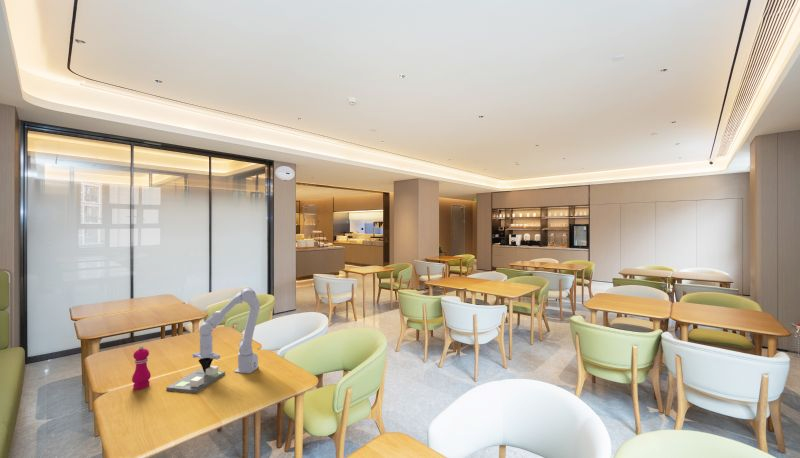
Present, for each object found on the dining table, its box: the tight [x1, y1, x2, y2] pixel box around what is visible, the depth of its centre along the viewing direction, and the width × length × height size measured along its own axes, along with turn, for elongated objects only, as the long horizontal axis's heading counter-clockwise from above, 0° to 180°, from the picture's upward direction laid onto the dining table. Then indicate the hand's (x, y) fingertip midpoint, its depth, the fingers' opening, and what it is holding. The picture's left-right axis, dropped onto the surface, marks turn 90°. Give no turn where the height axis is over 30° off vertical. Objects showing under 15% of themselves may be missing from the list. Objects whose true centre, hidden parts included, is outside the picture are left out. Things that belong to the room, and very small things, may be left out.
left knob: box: [190, 376, 204, 387], centre depth 162 cm, size 4×4×3 cm
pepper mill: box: [131, 345, 151, 391], centre depth 163 cm, size 7×7×20 cm
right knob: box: [206, 365, 219, 376], centre depth 174 cm, size 4×4×3 cm
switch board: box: [166, 368, 226, 394], centre depth 168 cm, size 16×20×2 cm
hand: (206, 371), depth 174 cm, fingers closed
